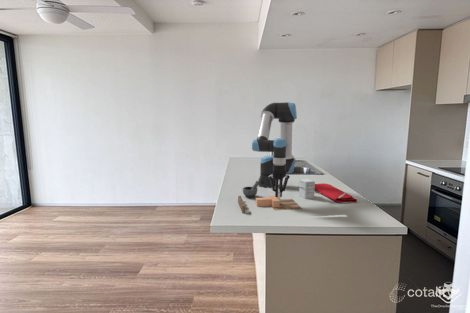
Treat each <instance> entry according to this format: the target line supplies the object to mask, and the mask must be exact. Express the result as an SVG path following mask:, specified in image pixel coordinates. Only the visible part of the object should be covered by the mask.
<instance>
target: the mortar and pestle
mask: <svg viewBox="0 0 470 313" xmlns="http://www.w3.org/2000/svg"><path fill="white" fill-rule="evenodd" d="M258 181H259V180H256V181H255V183H254V184H253V186H243V188H242V194H243V196H245V198H247V199H253V198H255V196H257V193H258V186H259V185H258V184H259V182H258Z"/></svg>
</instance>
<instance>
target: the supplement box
mask: <svg viewBox="0 0 470 313" xmlns="http://www.w3.org/2000/svg"><path fill="white" fill-rule="evenodd" d="M315 184H316V181H315V180H314V179H313V180H312V179H310V178H303V179H299V189H298V190H299V191H298V192H299V193H298V196H299V197H300V198H303V199H305V200H308V199H314V198H315V190H314V189H315Z"/></svg>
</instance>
